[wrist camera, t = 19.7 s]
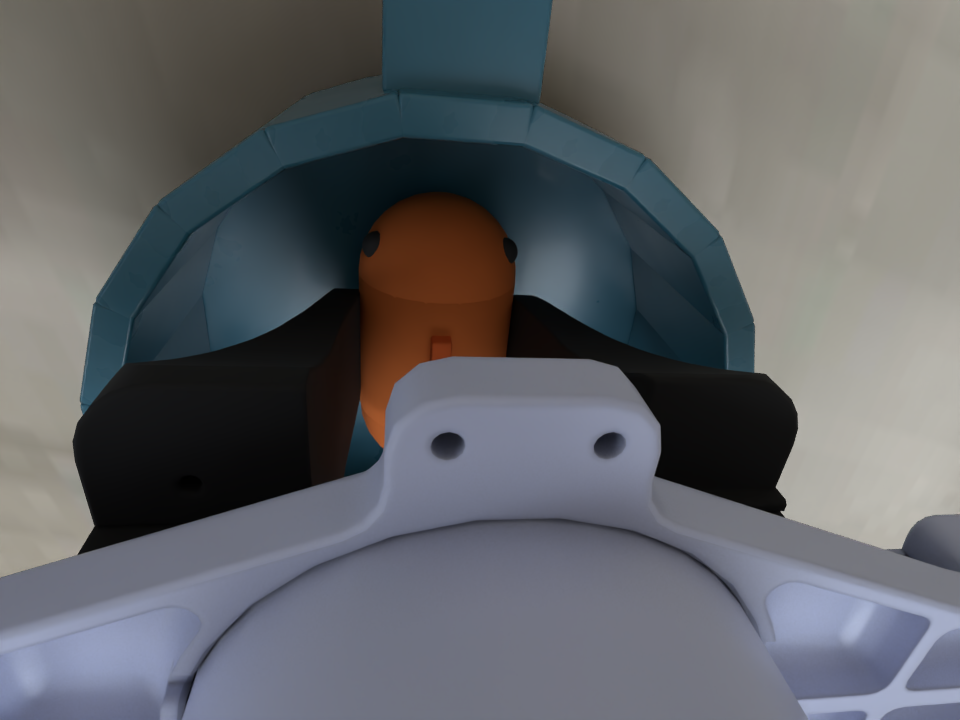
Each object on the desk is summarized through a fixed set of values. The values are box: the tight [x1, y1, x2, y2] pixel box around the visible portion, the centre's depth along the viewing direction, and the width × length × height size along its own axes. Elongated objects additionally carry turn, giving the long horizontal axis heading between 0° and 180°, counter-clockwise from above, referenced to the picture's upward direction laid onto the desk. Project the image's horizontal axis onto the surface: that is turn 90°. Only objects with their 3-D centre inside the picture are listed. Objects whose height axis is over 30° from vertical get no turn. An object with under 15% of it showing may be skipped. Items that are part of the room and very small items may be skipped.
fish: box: [359, 192, 518, 448], centre depth 14 cm, size 8×3×4 cm, turn 175°
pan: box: [80, 0, 755, 477], centre depth 14 cm, size 12×18×6 cm
